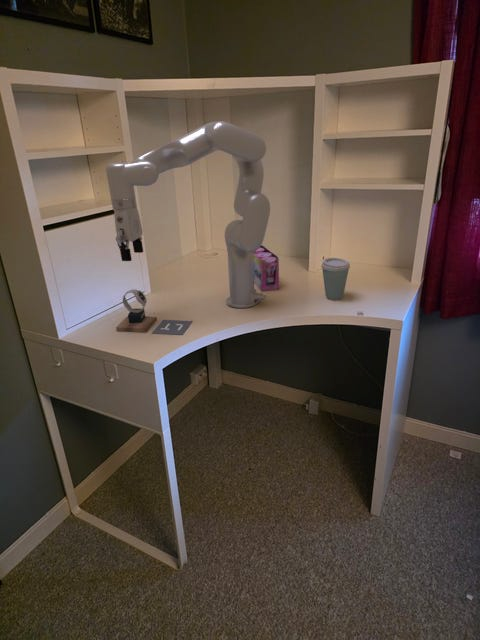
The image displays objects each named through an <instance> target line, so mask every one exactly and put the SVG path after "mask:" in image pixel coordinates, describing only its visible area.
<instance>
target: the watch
mask: <svg viewBox="0 0 480 640" xmlns="http://www.w3.org/2000/svg"><path fill="white" fill-rule="evenodd" d="M130 293H131V294H133V295H134V296H135V299H136V301H137V302H138V303H139V304H141V306H142V308H133V307H132V305H131V304H129V302H128V300H127V299H126V296H127V295H128V294H130ZM122 304H123V306H124V307H125V308H126V310H127V311H128V312H129V313H128V314H127V316H128V319H129V323H142V321H143V319H144V318H145V316H146V312H145V311H146V310H145V307H146V305H147V297H146V295H145V294H144V293H143V291H141V290H138V289H130V290H127V291H126V292H125V293H124V294H123V296H122Z"/></svg>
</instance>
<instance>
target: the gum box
mask: <svg viewBox="0 0 480 640" xmlns="http://www.w3.org/2000/svg"><path fill="white" fill-rule="evenodd" d="M253 261H254V285H256V286H257V288H258V289H259V290H260V291H261V292H266V291H274V290H275V291H276V290H279V289H280V269H279V268H280V267H279V266H280V264H279V261H280V260H279V256H277V255H276V254H275V253H273V252H272V251H270V250H269V249H268V248H266V246H264V245H263V244H262V245H261V246H260V248H259V249H258V250H256V251H254V252H253Z"/></svg>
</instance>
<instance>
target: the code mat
mask: <svg viewBox="0 0 480 640" xmlns="http://www.w3.org/2000/svg"><path fill="white" fill-rule="evenodd" d="M192 323H193V321H192V320H179V319H178V320H176V319H162V320H161V321H160V323H158V325H157V326H156V327H155V329H154V330H152V332H151V334H153V335H169V336H170V335H172V336H173V335H175V336H183V335H184V334H185V333H186V331H187V329H188V328H189V327H190V326H191V324H192Z"/></svg>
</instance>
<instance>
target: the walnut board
mask: <svg viewBox="0 0 480 640" xmlns="http://www.w3.org/2000/svg"><path fill="white" fill-rule="evenodd" d="M157 321H158V317H157V316H151V315H150V316H147V315H145V318H144V319H143V321H142V323H129V319H128V315H127V316H126V317H125V318H124V319H123V320H122V321H121V322H120V323H118V325H116V327H115V329H116V332H124V333H125V332H127V333H148V332H149V331H150V330H151V328H152V327H153V326H154V325H155V324H156V323H157Z"/></svg>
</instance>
